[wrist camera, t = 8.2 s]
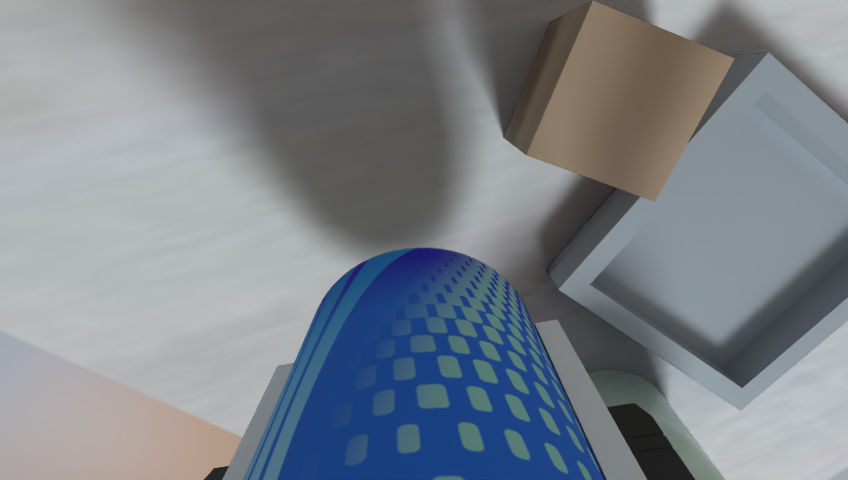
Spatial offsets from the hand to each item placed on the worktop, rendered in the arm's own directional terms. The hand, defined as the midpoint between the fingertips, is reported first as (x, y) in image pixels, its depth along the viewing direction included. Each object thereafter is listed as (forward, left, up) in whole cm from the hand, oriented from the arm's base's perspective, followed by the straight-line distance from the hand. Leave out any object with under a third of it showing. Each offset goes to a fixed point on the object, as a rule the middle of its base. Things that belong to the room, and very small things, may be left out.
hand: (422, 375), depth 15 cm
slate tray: (+11, +10, -7) cm, 16 cm away
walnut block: (+1, +11, -8) cm, 13 cm away
